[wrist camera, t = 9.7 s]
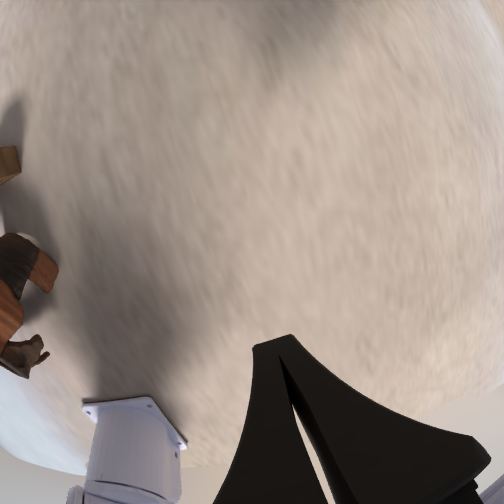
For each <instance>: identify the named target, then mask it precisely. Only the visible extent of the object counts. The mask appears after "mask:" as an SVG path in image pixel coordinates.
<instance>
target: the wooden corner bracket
mask: <svg viewBox="0 0 504 504" xmlns="http://www.w3.org/2000/svg"><path fill="white" fill-rule="evenodd" d="M20 173H21V169H20V165H19V161H18V157H17V153H16V148H15V146H10V147H2V148H0V185H1V184H3V183H5V182H6V181H8V180H10V179H11V178H13V177H14V176H16V175H18V174H20Z"/></svg>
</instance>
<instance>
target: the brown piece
mask: <svg viewBox="0 0 504 504" xmlns="http://www.w3.org/2000/svg"><path fill="white" fill-rule="evenodd" d="M58 272H59V270H58V268H57V267H56V265H55V264H54V262H53V261H52V260H51V259H50V258H49V257H48V256H47V255H46V254H44V253H43V252H42V251H41V250H40V249H39V248H38V247H36V246H35V245H34V244H32V243H31V242H30V241H29V240H27V239H25V238H23V237H22V236H20V235H18V234H12V233H7V234H5V235H3V236H2V237H0V366H2V367H4V368H5V369H7V370H9V371H11V372H12V373H14V374H16V375H18V376H20V377H24V378H26V379H29V373H30V370H31V367H34V366H35V365H38V364H40V363H41V362H43V361H44V360H45V359H46V358H47V357H48V356H49V355H50V353H49V352H47V351H46V352H44V353H43V354H42V355H41V356H40V352H41V350H42V349H43V347H44V344H43V341H42V338H41V337H40V335H38V334H36V335H34V336H33V337H32V338H31V339H30V340H25V341H22V342H13V341H9V339H10V338H11V337H12V336H13V334H15V332H16V331H17V330H18V329H19V328H20V327H21V326H22V325H23V319H24V311H23V308H22V306H21V304H20V302H19V300H20V299H21V296H22V292H23V289H24V286H25V283H26V281H27V279H29V280H30V281H32V282H34V283H35V284H36V285H38V286H39V287H40V288H41V289H42V290H43V291H44V292H45V293H49V292H50V291H51V290H52V288H53V285H54V281H55V279H56V277H57V274H58Z"/></svg>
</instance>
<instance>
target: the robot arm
mask: <svg viewBox="0 0 504 504" xmlns="http://www.w3.org/2000/svg"><path fill="white" fill-rule="evenodd" d="M252 351H253V378H252V386H251V394H250V400H249V405H248V410H247V415H246V420H245V424H244V428H243V432H242V435H241V438H240V442H239V445H238V448H237V451H236V453H235V456H234V459H233V461H232V464H231V467H230V469H229V471H228V474H227V476H226V478H225V480H224V482H223V484H222V486H221V488H220V490H219V493H218V494H217V496H216V498H215V500H214V502H213V504H328V502H327V500H326V497H325V495H324V492H323V490H322V488H321V485H320V483H319V480H318V478H317V475H316V473H315V470H314V468H313V465H312V463H311V460H310V457H309V455H308V452H307V450H306V447H305V445H304V442H303V439H302V437H301V434H300V432H299V429H298V426H297V423H296V419H295V415H294V411H293V407H294V409H295V411H296V413H297V415H298V417H299V419H300V421H301V423H302V425H303V427H304V430H305V432H306V434H307V436H308V438H309V440H310V442H311V444H312V446H313V448H314V450H315V451H316V454H317V456H318V458H319V461H320V463H321V466H322V468H323V471H324V474H325V476H326V479H327V482H328V485H329V487H330V490H331V493H332V495H333V498H334V501H335V503H336V504H504V474H503V475H502V476H501V477H500V478H499V479H498V480H496V481H495V482H494V483H493V484H492V485H491V486H489V487H488V488H487V489H486V490H485V491H483V492H482V493H481V494H480V495H478V494H477V492H476V491H475V490H476V489H477V488H478V485H477V483H476V482H475V480H474V478H475V477H476V476H478V475H479V474H480V473H481V472H482V471H483V470H484V469H485V468H486V467H487V466H488V464H489V463H490V462H491V457H490V455H489V454H488V453H487V451H486V450H485V449H484V447H483V446H482V445H481V444H480V443H479V442H478V441H477V440H475V439H474V438H473V437H472V436H469V435H464V434H459V433H454V432H450V431H446V430H443V429H439V428H436V427H432V426H430V425H427V424H423V423H420V422H418V421H415V420H413V419H411V418H408V417H406V416H403V415H401V414H399V413H396V412H394V411H392V410H390V409H388V408H386V407H384V406H382V405H380V404H378V403H376V402H375V401H373V400H371V399H369V398H368V397H366V396H364V395H363V394H361V393H359V392H358V391H356V390H355V389H353V388H352V387H350V386H349V385H348V384H346V383H345V382H343V381H342V380H341V379H339V378H338V377H337V376H335V375H334V374H333V373H332V372H330V371H329V370H328V369H327V368H326V367H325V366H323V365H322V364H321V363H320V362H319V361H318V360H316V359H315V358H314V357H313V356H312V355H311V354H310V353H309V352H308V351H307V350H306V349H305V348H304V347H303V346H302V345H301V344H300V342H299V341H298V340H297V339H296V338H295V336H294V335H292V334H288V335H285V336H282V337H279V338H276V339H273V340H270V341H266V342H263V343H260V344H256V345H254V347H253V348H252ZM149 404H150V405H149ZM292 405H293V406H292ZM81 408H82V410H83V411H84V412H85V413H86V414H87V416H88V417H89V418H90V419H91V420H92V421H93V422H94V423H95V424H96V429H95V433H94V438H93V443H92V447H91V453H90V458H89V463H88V469H87V475H86V481H85V484H84V487H81V486H79V485H75V487H72V488H69V491H68V496H67V502H66V504H177V503H178V501H179V500H180V497H181V491H182V490H181V468H180V450H185V449H187V448H188V445H187V444H186V442H185V441H184V440H183V439H182V437H181V436H180V435H179V434H178V433H177V431H176V430H175V429H174V428H173V426H172V425H171V424H170V422H169V421H168V420H167V419H166V417H165V416H164V415H163V413H162V412H161V411H160V409H159V408H158V407H157V405H156V404H155V402H154V401H153V400H152V399H151V398H150V397H139V398H132V399H125V400H117V401H109V402H100V403H90V404H83V405H82V407H81Z"/></svg>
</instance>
